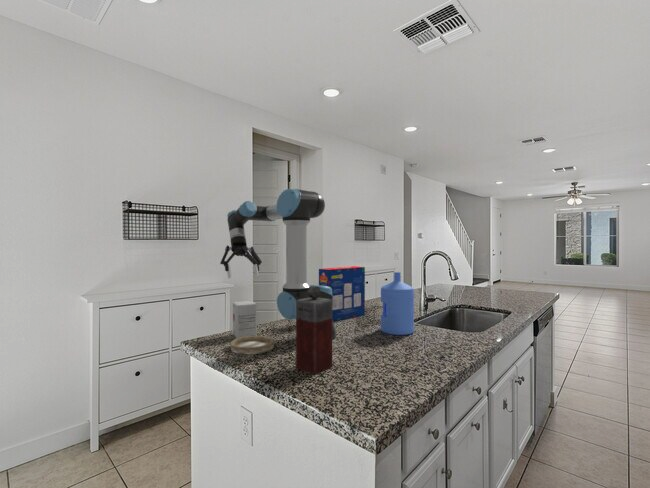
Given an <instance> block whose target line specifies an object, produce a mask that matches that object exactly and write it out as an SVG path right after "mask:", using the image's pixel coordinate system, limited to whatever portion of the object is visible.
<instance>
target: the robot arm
mask: <svg viewBox="0 0 650 488" xmlns="http://www.w3.org/2000/svg"><path fill="white" fill-rule="evenodd" d="M325 207H326V202H325V199H324V198H323V196H322V195H321V194H320V193H318V192H316V191H308V190H304V189H299V188H286V189H284V190H283V191H282V192H281V193H280V194H279V196H278V198H277V200H276V204H273V205H267V206H262V205H257V204H255V203H254V202H253V201H251V200H246V201H244V202H243V203H242V204H240V206H239V207H238V208H237V209H234V210H231V211H229V212H228V213H227V215H226V216H227V224H228V232H229V238H230V245H231V246H229V245H226V247H225V249H224V253H223V256H222V258H221V260H220V265H223V266H224V271H225V272H226V273H227V279H231V277H232V270H231V263H230V261H231V260H232V259H233V258H234V257H235V256H237V257H244V258H246V259H247V260H249V262H251V264H253V269H254V270H253V271H254V276H255V279H258V277H259V276H260V274H259V271H260V265H261V264H262V262H263V261H262V260H261V259H260V257H259V255H258V254H257V252H256V251H255V249H254V246H250V247H248V245H247V237H246V233H245V226H244V225H245V224H247V222H248V221H258V222H259V221H262V222H275V221H276V220H282V223H283V224H284V225H285V228H286V229H285V239H286V240H285V246H286V247H285V255H286V256H285V264H286V265H285V268H286V270H285V271H286V273H285V275H286V276H285V277H286V278H285V279H286V280H285V281H286V282H285V283H284V284H283V285H282V291H281V292H280V293H278V295H277V297H276V306H277V310H278V312H279V314H280V315H281V316H282V317H283V318H284V319H287V320H296V301H297V300H299V299H304V298H310V297H309V296H308V289H309V287H310V286H318V287H319V288H320V290H321V293H320V296H319V298H325V299H330V300H333V295H332V289H331V287H328V286H320V285H319V284H318V285H317V284H309V283H308V281H307V277H308V276H307V274H308V273H307V270H308V269H307V265H308V264H307V263H308V261H307V259H308V258H307V255H308V251H307V249H308V248H307V244H308V243H307V239H308V238H307V236H308V235H307V232H308V231H307V226H308V225H309V223H311V219H315V218H318V217H320V216H321V215H322V214H323V213H324V211H325ZM230 250H231V252H232V253H231V255H230V256H229V257H228V258H227V255H228V254H229V252H230ZM226 258H227V260H226ZM336 330H337V329H336V327H335V322H333V320H332V340H334V339H336V338H337V331H336Z"/></svg>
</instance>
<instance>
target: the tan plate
mask: <svg viewBox="0 0 650 488" xmlns="http://www.w3.org/2000/svg"><path fill="white" fill-rule="evenodd" d="M229 343H230V351H231V352H233V353H235V354H238V355H257V354H262V353H267V352H269V351H271V350H273V349H274V347H275V340H274V338H273V337H271V336H270V337H269V336H268V335H257V336H245V337H240V338H234V339H233V340H232V341H230V342H229Z"/></svg>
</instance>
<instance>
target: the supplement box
mask: <svg viewBox="0 0 650 488" xmlns="http://www.w3.org/2000/svg"><path fill="white" fill-rule="evenodd" d="M257 308H258V307H257V303H255V302H254V301H251V300H247V301H245V300H244V301H234V302H232V335H233V336H234V337H235V339H237V338H240V337H245V336H258V333H257V316H258V315H257Z"/></svg>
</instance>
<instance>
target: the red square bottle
mask: <svg viewBox="0 0 650 488" xmlns="http://www.w3.org/2000/svg"><path fill="white" fill-rule="evenodd" d="M320 293H321V290H320V288H319V287H318V286H310V287H309V289H308V296H309V297H310V298H304V299H299V300H297V301H296V319H295V334H296V335H295V356H296V357H295V368H296V369H298V370H301V371H304V372H306V373H309V374H312V375H318V374H320V373H321V372H325V371H327V370H329V369H332V368H333V339H332V300H330V299H325V298H319V296H320Z"/></svg>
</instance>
